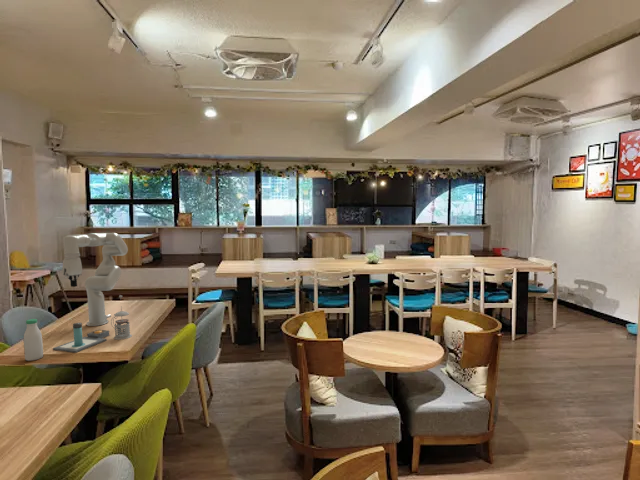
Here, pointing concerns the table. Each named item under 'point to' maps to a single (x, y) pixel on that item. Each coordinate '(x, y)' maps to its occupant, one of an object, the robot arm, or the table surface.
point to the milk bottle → (33, 341)
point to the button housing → (100, 335)
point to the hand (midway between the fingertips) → (73, 286)
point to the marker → (77, 334)
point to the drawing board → (86, 344)
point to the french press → (121, 326)
